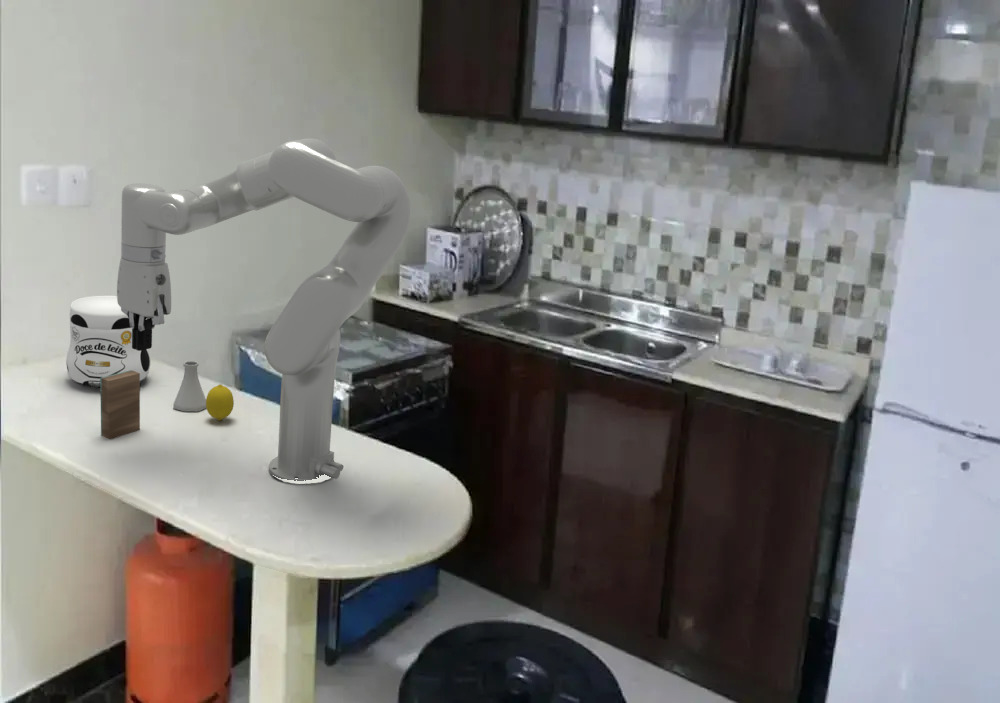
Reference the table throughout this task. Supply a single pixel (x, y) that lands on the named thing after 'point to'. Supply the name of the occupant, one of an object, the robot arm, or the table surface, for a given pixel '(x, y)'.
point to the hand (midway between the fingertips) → (141, 348)
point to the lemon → (219, 402)
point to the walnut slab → (120, 404)
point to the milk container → (101, 342)
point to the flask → (190, 390)
